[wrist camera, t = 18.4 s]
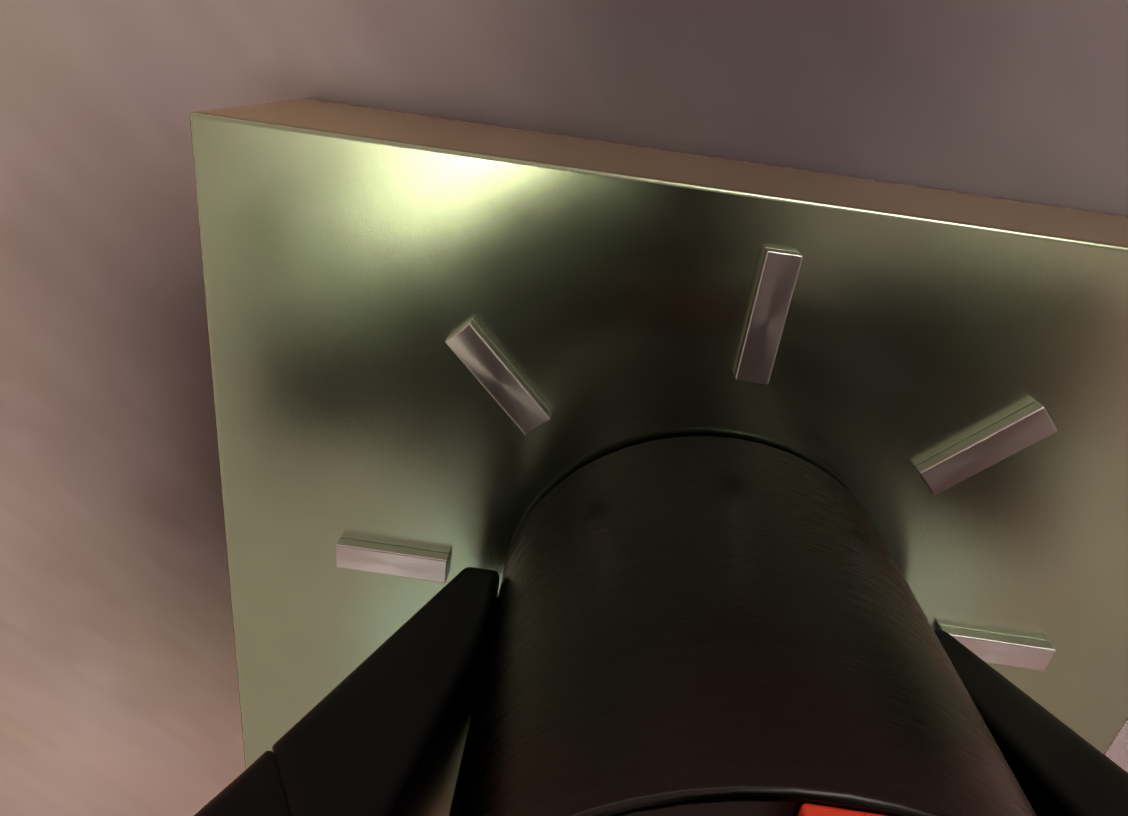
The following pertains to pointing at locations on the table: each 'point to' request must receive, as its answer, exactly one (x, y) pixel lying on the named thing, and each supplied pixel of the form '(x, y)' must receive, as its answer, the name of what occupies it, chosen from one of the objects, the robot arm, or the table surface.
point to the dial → (717, 654)
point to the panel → (645, 376)
